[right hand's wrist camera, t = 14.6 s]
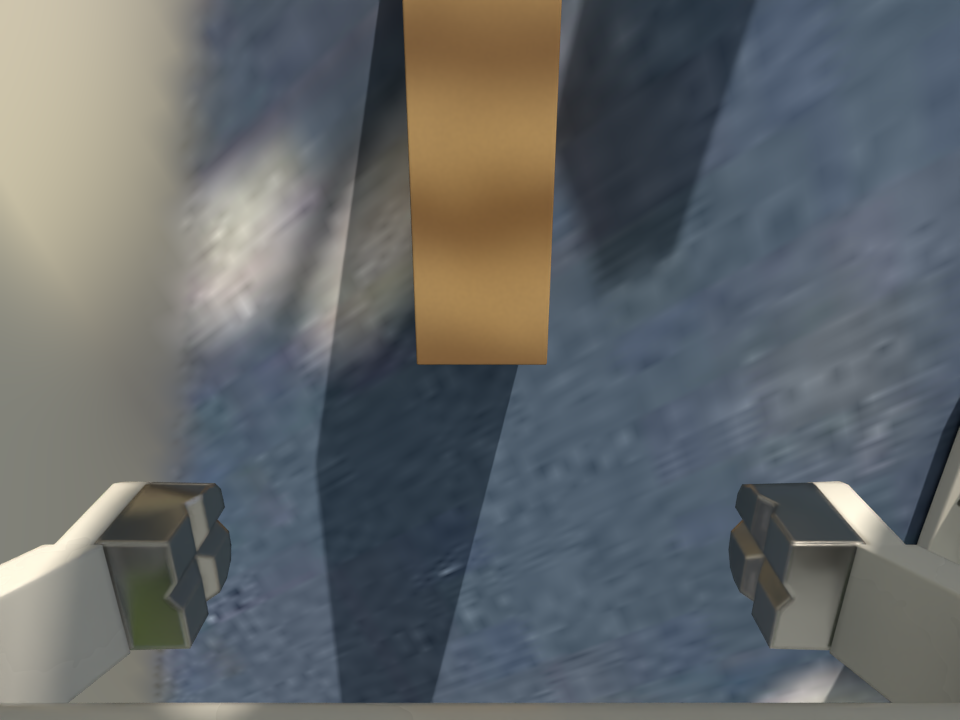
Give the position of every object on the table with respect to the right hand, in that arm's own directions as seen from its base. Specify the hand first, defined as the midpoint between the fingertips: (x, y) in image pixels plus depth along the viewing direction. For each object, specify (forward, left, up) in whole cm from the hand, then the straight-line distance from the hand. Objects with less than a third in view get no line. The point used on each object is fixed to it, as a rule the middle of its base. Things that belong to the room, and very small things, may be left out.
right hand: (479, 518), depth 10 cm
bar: (+7, +2, -25) cm, 26 cm away
